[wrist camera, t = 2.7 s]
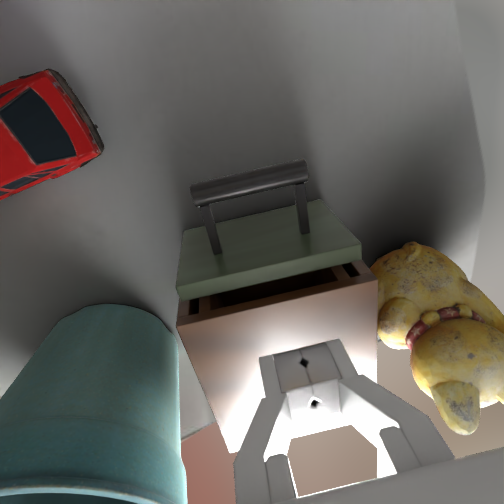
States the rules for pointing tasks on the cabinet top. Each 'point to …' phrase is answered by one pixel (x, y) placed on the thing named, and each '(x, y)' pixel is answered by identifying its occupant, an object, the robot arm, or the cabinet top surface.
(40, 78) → the toy car
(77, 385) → the flower pot
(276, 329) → the cabinet
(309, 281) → the drawer
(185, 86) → the cabinet top surface
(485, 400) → the decorative figurine
